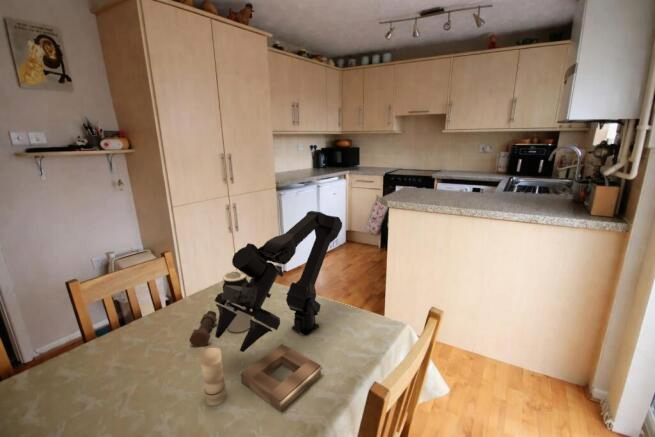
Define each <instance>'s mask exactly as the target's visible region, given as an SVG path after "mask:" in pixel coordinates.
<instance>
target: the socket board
mask: <svg viewBox="0 0 655 437" xmlns="http://www.w3.org/2000/svg"><path fill="white" fill-rule="evenodd" d="M282 366H283V367H284V368H286V369H287V370H289V371H291V372H292V374H290V375H289V376H288V377H287V378H286V379H284V380H283V381H282V382H279V381H277V380H276V379H274V378H273V377H271V374H273V373H274V372H276V371H277V370H278V369H280V368H281V367H282ZM322 370H323V366H322V364H320V363H318V362H316V361H314V360H312V359H311V358H309V357H307V356H305V355H303V354H301V353H300V352H298V351H296V350H294V349H292V348H290V347H288V346H286V345H285V344H283V343H281V344H280V345H277V347H275V348H274V349H273V350H271V351H270V352H268V353H266V355H264V356H263V357H261V358H259V359H258V360H257V361H255V362H254V363H252V364H251V365H249V366H248V367H246V369H244V370H243V371H241V372H239V374H238V376H239V377H240V378H241V380H240V381H241V384H242V385H243V386H244V387H247V388H248V389H249V390H251V391H252V392H254V393H255V394H256V395H257V396H259V397H260V398H261V399H263V400H264V401H265V402H267V403H268V404H270V405H271V406H272V407H273V408H275V409H276V410H277V411H279V412H283V410H284V409H286V408H287V407H288V406H289V405H290V404H291V403H292V402H294V400H296V399H297V397H299V396H300V395H301V394H302V393H303V392H304V391H305V390H306V389H307V388H308V387H310V386H311V384H312V383H314V382H315V381H316V380H317V379H318V378H319V377H320V376H321V375H322Z"/></svg>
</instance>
